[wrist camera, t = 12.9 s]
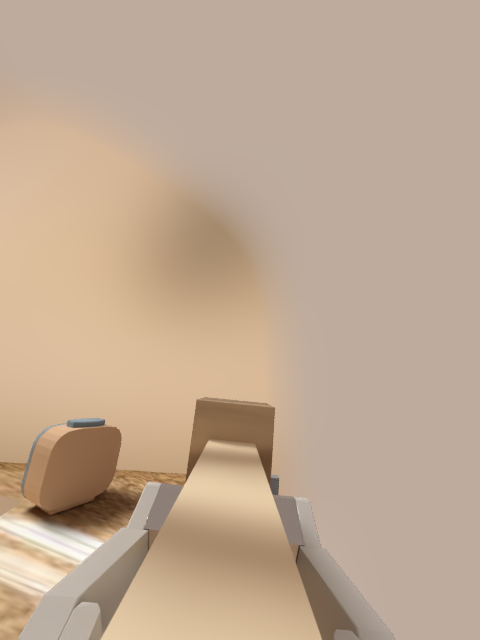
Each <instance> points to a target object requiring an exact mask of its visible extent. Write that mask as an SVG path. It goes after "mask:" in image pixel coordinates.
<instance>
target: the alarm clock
mask: <svg viewBox="0 0 480 640" xmlns="http://www.w3.org/2000/svg"><path fill="white" fill-rule="evenodd" d="M104 423H105V420H103V419H99V418H91V419H74V420H68V421H67V423H65V424H59V425H54V426H50V427H48V428H47V429H45V430H43V431H42V432H41V433H40V434H39V435H38V436H37V438H36V440H35V441H34V443H33V446H32V449H31V452H30V455H29V459H28V462H27V466H26V469H25V473H24V476H23V480H22V485H21V487H22V494H23V495H24V497H25V498H27V499H28V500H30V501H31V502H33V503H35V504H36V505H35V506H36V507H38V508H40V509H41V510H43V511H44V512H46V513H48V514H49V515H52V514H55V513H58V512H61V511H64V510H67V509H70V508H73V507H75V506H78V505H81V504H84V503H87V502H90V501H93V500H94V497H95V496H97V495H99V494H101V493H103V492H104V491H105V490H106V489H107V488H108V486H109V485H110V483H111V481H112V479H113V477H114V474H115V470H116V465H117V460H118V456H119V451H120V446H121V433H120V430H119V429H117V428H116V427H112V426H109V425H105V424H104Z"/></svg>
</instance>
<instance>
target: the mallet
mask: <svg viewBox="0 0 480 640" xmlns="http://www.w3.org/2000/svg"><path fill="white" fill-rule="evenodd" d="M274 415H275V408H274V407H272V406H270V405H268V404H266V403H257V402H246V401H237V400H227V399H218V398H208V397H205V398H202V399H197V402H196V409H195V416H194V424H193V431H192V438H191V446H190V453H189V461H188V468H187V475H186V482H185V485H184V487H183V489H182V490H181V492H180V494H179V496H178V498H177V500H176V502H175V503H174V505H173V507H172V509H171V511H170V513H169V514H168V516H167V518H166V520H165V522H164V524H163V526H162V527H161V529H160V531H159V533H158V535H157V537H156V538H155V540H154V542H153V544H152V546H151V548H150V550H149V551H148V553H147V555H146V557H145V559H144V561H143V562H142V564H141V566H140V568H139V570H138V572H137V574H136V575H135V577H134V579H133V581H132V583H131V585H130V586H129V588H128V590H127V592H126V594H125V596H124V598H123V599H122V601H121V603H120V605H119V607H118V609H117V610H116V612H115V614H114V616H113V618H112V620H111V621H110V623H109V625H108V627H107V629H106V631H105V633H104V634H103V636H102V638H101V640H322V638H321V635H320V632H319V629H318V626H317V623H316V620H315V618H314V615H313V612H312V609H311V606H310V603H309V600H308V597H307V594H306V591H305V588H304V585H303V583H302V580H301V577H300V574H299V571H298V568H297V565H296V562H295V559H294V556H293V553H292V550H291V548H290V545H289V542H288V539H287V536H286V533H285V530H284V527H283V524H282V521H281V518H280V515H279V512H278V510H277V507H276V504H275V501H274V498H273V495H272V492H271V489H270V484H271V467H272V450H273V433H274Z"/></svg>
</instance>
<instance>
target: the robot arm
mask: <svg viewBox="0 0 480 640" xmlns="http://www.w3.org/2000/svg"><path fill="white" fill-rule="evenodd" d="M183 487H184V486H180V485H172V484H165V483H156V482H148V483H147V484H146V486H145V488H144V490H143V492H142V495H141V497H140V499H139V501H138V503H137V506H136V508H135V510H134V512H133V515H132V517H131V519H130V521H129V524H128V526H127V528H124V527H122V528H121V529H120V530H119V531H118V532H116V533H115V534H114V535H113V536H112V537H111V538H109V539H108V540H107V541H106V542H105V543H104V544H103V545H101V546H100V547H99V548H98V549H97V550H96V551H94V552H93V553H92V554H91V555H90V556H89V557H88V558H86V559H85V560H84V561H83V562H82V563H81V564H79V565H78V566H77V567H76V568H75V569H74V570H72V571H71V572H70V573H69V574H68V575H67V576H66V577H64V578H63V579H62V580H61V581H60V582H59V583H57V584H56V585H55V586H54V587H53V588H52V589H51V590H49V591H48V592H47V593H46V594H45V595H44V596H43V598H42V599H41V601H40V603H39V604H38V606H37V608H36V609H35V611H34V613H33V614H32V616H31V618H30V619H29V621H28V622H27V624H26V626H25V627H24V629H23V631H22V632H21V634H20V636H19V637H18V639H17V640H101V638H102V633H103V632H104V630H105V629H106V628H107V627H108V625H109V623H110V621H111V620H112V618H113V616H114V614H115V612H116V610H117V609H118V607H119V605H120V603H121V601H122V599H123V598H124V596H125V594H126V592H127V590H128V588H129V586H130V585H131V583H132V581H133V579H134V577H135V575H136V574H137V572H138V570H139V568H140V566H141V564H142V562H143V561H144V559H145V557H146V555H147V553H148V551H149V550H150V548H151V546H152V544H153V542H154V540H155V538H156V537H157V535H158V533H159V531H160V529H161V527H162V526H163V524H164V522H165V520H166V518H167V516H168V514H169V513H170V511H171V509H172V507H173V505H174V503H175V502H176V500H177V498H178V496H179V494H180V492H181V490H182V489H183ZM273 498H274V501H275V504H276V507H277V510H278V512H279V515H280V518H281V521H282V524H283V527H284V530H285V533H286V536H287V539H288V542H289V545H290V548H291V550H292V553H293V556H294V559H295V562H296V565H297V568H298V571H299V574H300V577H301V580H302V583H303V585H304V588H305V591H306V594H307V597H308V600H309V603H310V606H311V609H312V612H313V615H314V618H315V620H316V623H317V626H318V629H319V632H320V635H321V638H322V640H395V638H394V635H393V633H392V632H391V631H390V629H389V628H388V627H387V626H386V624H385V623H384V622H383V621H382V619H381V618H380V617H379V615H378V614H377V613H376V612H375V610H374V609H373V608H372V607H371V605H370V604H369V603H368V602H367V600H366V599H365V598H364V596H363V595H362V594H361V593H360V591H359V590H358V589H357V587H356V586H355V585H354V584H353V583H352V581H351V580H350V579H349V577H348V576H347V575H346V574H345V572H344V571H343V570H342V568H341V567H340V566H339V565H338V563H337V562H336V561H335V560H334V558H333V557H332V556H331V555H330V553H329V552H328V551H327V550H326V549H323V548H321V544H320V540H319V536H318V532H317V528H316V524H315V520H314V516H313V512H312V508H311V504H310V501H309V499H308V498H299V497H292V496H280V495H273Z"/></svg>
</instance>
